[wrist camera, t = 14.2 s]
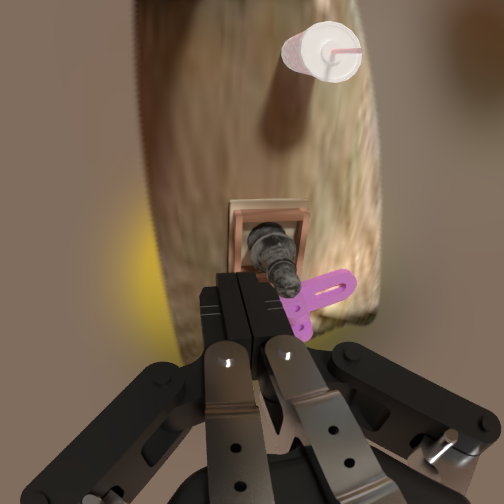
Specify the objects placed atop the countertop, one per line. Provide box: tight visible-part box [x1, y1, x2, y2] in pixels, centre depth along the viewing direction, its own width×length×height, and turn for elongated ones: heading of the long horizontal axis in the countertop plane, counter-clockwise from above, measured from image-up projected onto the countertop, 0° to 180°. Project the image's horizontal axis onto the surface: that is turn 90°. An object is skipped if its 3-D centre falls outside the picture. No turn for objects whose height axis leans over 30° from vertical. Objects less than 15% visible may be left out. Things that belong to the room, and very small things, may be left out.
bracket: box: [279, 269, 357, 342], centre depth 48 cm, size 13×6×7 cm, turn 104°
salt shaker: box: [247, 222, 301, 299], centre depth 38 cm, size 6×6×12 cm
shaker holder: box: [228, 198, 310, 279], centre depth 43 cm, size 11×10×3 cm
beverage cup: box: [281, 21, 362, 83], centre depth 26 cm, size 6×6×14 cm
